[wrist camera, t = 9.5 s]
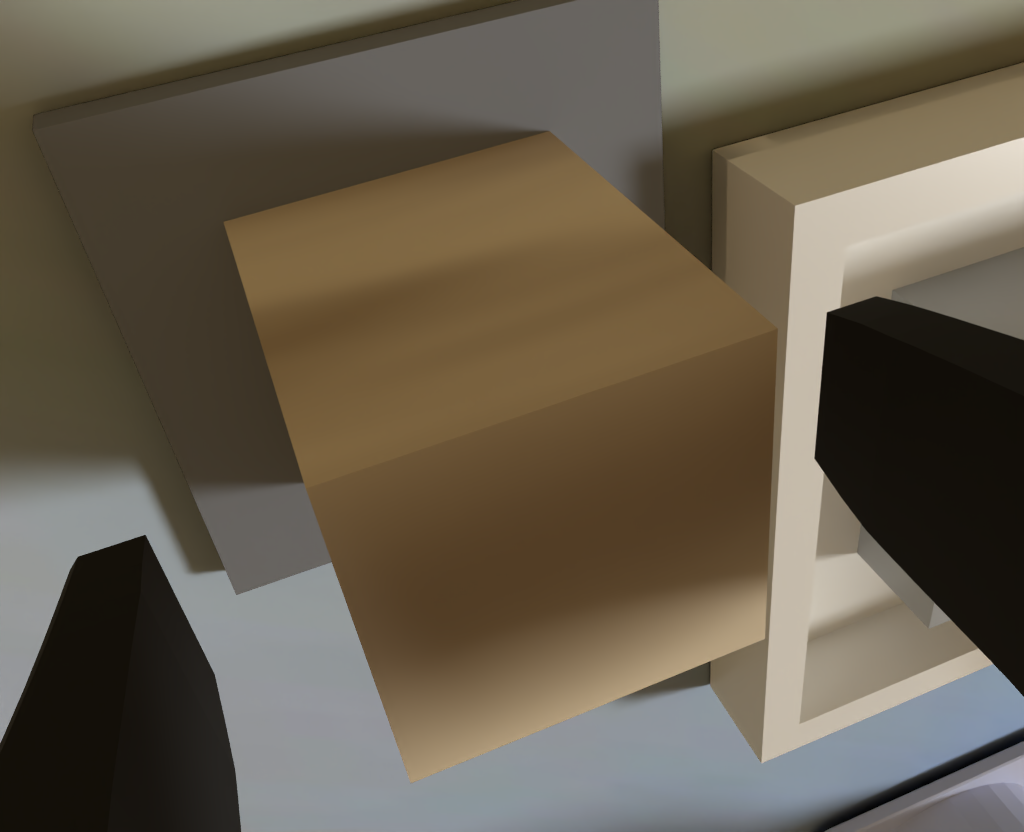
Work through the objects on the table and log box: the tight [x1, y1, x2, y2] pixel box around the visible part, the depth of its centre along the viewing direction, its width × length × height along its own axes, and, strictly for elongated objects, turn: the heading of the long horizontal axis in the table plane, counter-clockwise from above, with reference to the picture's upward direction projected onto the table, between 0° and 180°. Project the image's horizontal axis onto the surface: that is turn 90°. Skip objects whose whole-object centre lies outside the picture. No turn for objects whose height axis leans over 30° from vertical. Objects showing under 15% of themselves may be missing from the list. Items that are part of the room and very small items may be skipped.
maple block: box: [224, 131, 778, 783], centre depth 11 cm, size 4×4×5 cm
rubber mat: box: [32, 0, 665, 595], centre depth 13 cm, size 7×7×1 cm
